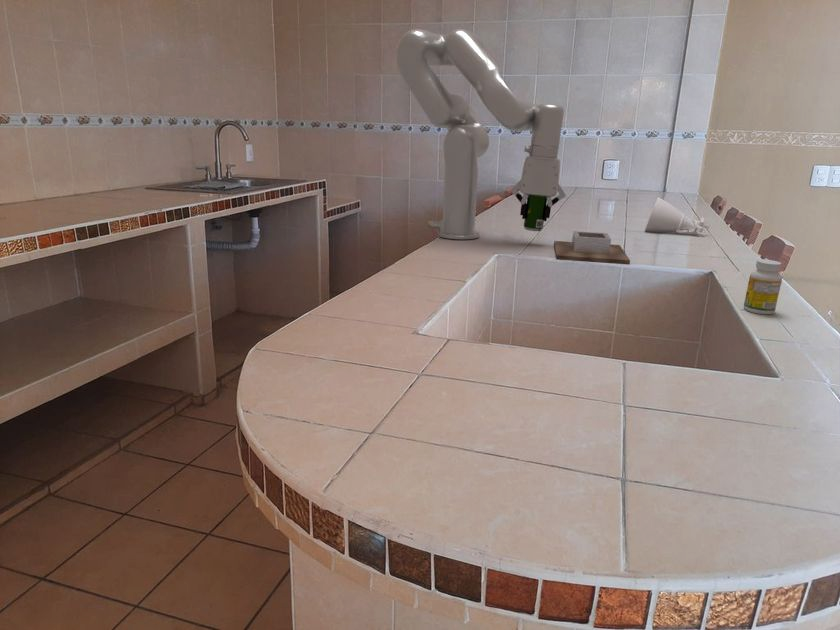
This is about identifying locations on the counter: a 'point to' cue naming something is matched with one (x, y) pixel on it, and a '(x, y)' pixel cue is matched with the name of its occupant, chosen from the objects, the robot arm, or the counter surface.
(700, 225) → the rocket engine
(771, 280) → the supplement bottle
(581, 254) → the cap board
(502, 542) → the counter surface
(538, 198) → the beer can
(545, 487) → the counter surface
